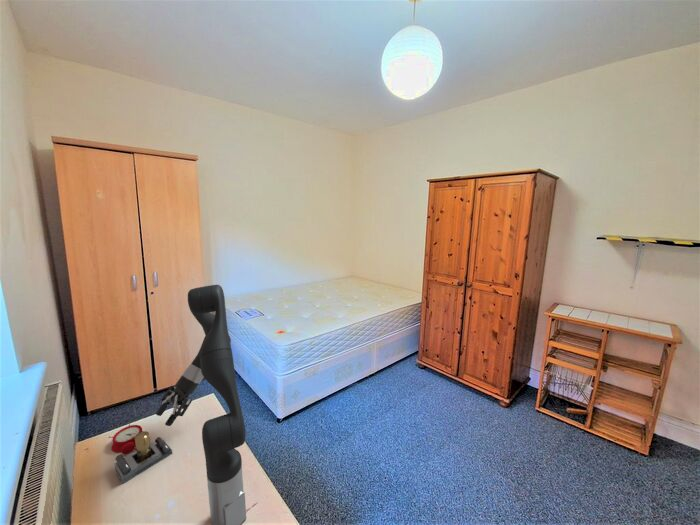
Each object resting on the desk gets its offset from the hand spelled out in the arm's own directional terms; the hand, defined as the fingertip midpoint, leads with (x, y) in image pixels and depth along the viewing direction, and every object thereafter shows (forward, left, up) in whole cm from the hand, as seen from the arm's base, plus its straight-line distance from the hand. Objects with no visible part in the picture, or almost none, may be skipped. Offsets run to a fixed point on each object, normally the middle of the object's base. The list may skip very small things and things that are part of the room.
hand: (162, 420), depth 106 cm
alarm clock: (+14, +7, -13) cm, 20 cm away
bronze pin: (0, +7, -13) cm, 14 cm away
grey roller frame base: (0, +7, -13) cm, 14 cm away
